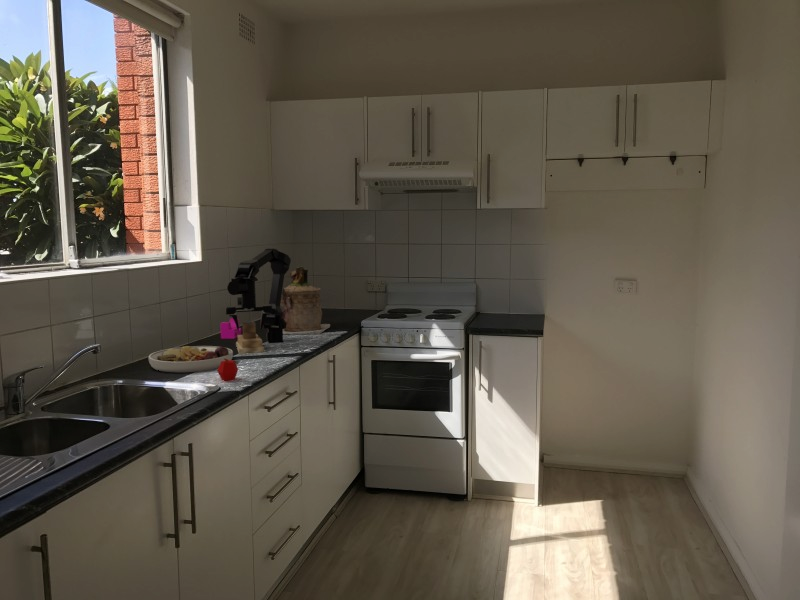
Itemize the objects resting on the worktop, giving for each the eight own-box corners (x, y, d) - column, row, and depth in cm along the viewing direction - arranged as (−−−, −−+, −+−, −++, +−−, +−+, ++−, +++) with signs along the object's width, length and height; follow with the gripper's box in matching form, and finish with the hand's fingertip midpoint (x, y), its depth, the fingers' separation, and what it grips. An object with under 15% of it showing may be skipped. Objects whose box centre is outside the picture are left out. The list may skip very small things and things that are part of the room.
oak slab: (256, 340, 289) (256, 333, 289) (262, 347, 274) (262, 340, 274) (237, 342, 286) (237, 335, 286) (242, 348, 272) (242, 341, 271)
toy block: (234, 339, 307) (233, 323, 306) (221, 339, 308) (220, 323, 307) (244, 333, 322) (243, 318, 321) (231, 333, 323) (230, 318, 322)
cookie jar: (331, 327, 339) (330, 264, 335) (321, 335, 315) (319, 267, 311) (284, 326, 342) (282, 263, 338) (269, 335, 317) (267, 267, 314)
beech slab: (259, 347, 291) (259, 340, 290) (264, 355, 274) (264, 347, 273) (236, 348, 288) (235, 341, 287) (239, 356, 271) (239, 349, 270)
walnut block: (255, 336, 283) (254, 322, 282) (255, 338, 278) (255, 324, 277) (242, 336, 282) (242, 322, 281) (243, 339, 277) (243, 324, 276)
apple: (213, 384, 223) (212, 360, 222) (222, 379, 230) (221, 356, 229) (233, 384, 222) (232, 361, 221) (241, 379, 229) (240, 356, 228)
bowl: (133, 374, 239) (132, 352, 238) (172, 357, 268) (171, 338, 267) (213, 376, 235) (212, 354, 234) (245, 359, 264) (244, 339, 263)
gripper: (269, 289, 288) (270, 325, 290) (224, 291, 283) (225, 328, 285) (272, 292, 277) (273, 330, 279) (225, 294, 272) (226, 332, 274)
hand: (249, 329), depth 280 cm, fingers open, 9 cm apart
